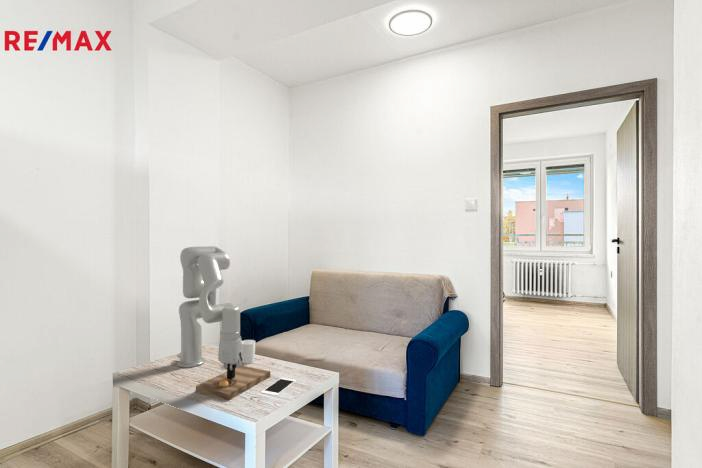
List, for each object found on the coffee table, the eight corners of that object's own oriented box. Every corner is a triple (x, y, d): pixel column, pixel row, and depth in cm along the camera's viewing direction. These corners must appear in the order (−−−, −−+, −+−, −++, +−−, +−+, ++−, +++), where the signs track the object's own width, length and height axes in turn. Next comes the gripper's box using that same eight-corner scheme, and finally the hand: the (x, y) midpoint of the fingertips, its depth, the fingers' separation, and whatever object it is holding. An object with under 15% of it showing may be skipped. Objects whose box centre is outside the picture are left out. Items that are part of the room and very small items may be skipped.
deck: (240, 370, 172) (240, 365, 172) (270, 376, 164) (270, 371, 164) (195, 391, 148) (195, 385, 148) (228, 400, 141) (228, 394, 141)
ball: (223, 392, 151) (215, 388, 149) (227, 382, 154) (219, 379, 152) (228, 391, 149) (219, 387, 147) (231, 381, 151) (223, 378, 150)
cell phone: (260, 393, 148) (260, 392, 148) (281, 378, 163) (281, 377, 163) (276, 396, 145) (276, 395, 145) (296, 381, 160) (296, 380, 160)
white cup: (236, 362, 182) (236, 343, 182) (247, 357, 189) (247, 339, 189) (247, 365, 179) (247, 345, 179) (258, 360, 186) (258, 341, 186)
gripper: (211, 335, 154) (211, 378, 154) (238, 340, 148) (238, 384, 148) (224, 331, 161) (224, 372, 161) (250, 335, 155) (250, 377, 155)
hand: (231, 378), depth 154 cm, fingers closed
